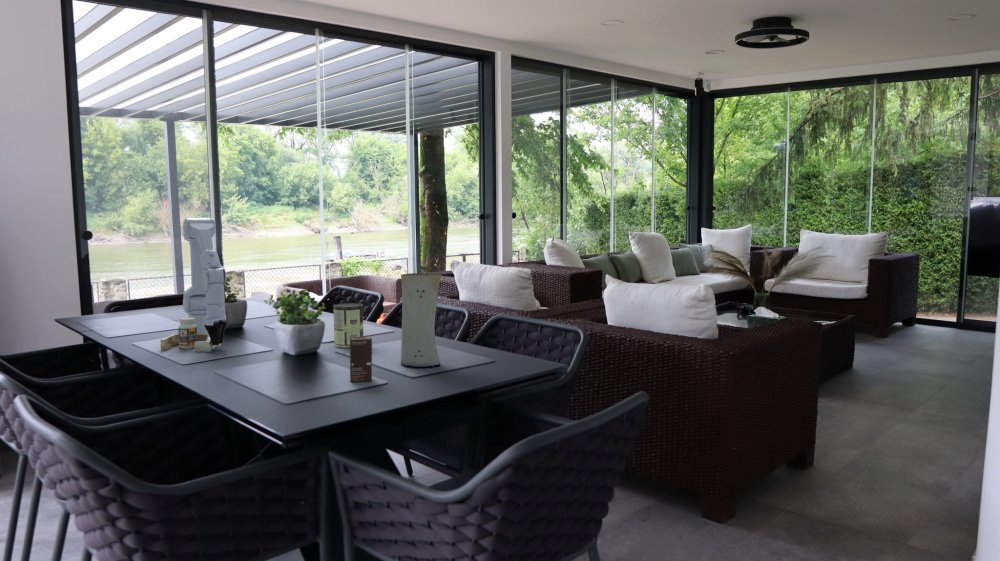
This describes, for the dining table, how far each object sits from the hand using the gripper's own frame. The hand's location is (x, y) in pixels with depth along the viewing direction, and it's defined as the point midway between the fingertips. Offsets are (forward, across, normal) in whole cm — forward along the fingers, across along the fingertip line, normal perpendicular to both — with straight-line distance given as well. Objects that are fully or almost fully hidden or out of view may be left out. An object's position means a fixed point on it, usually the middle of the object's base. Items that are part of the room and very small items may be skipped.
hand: (217, 344), depth 244 cm
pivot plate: (+1, -7, -3) cm, 8 cm away
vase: (+4, +25, +69) cm, 74 cm away
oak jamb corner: (+1, -4, -12) cm, 13 cm away
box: (+4, +46, +53) cm, 70 cm away
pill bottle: (+2, -4, -11) cm, 12 cm away
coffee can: (+3, -6, +43) cm, 43 cm away
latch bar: (+1, -3, -3) cm, 4 cm away
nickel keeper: (+2, +2, -4) cm, 4 cm away
